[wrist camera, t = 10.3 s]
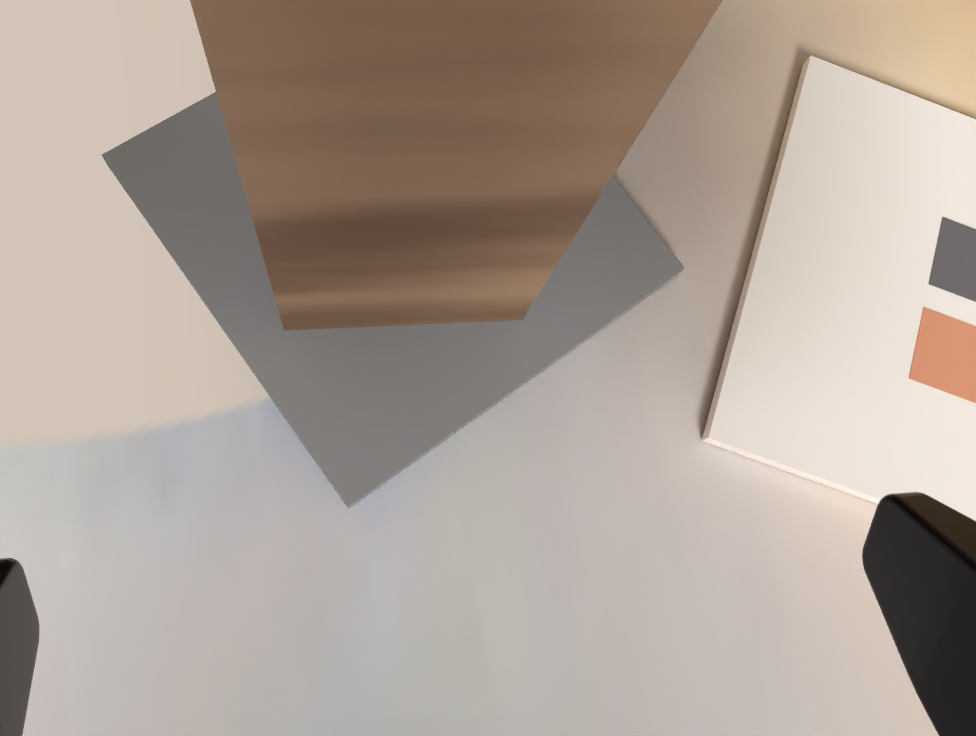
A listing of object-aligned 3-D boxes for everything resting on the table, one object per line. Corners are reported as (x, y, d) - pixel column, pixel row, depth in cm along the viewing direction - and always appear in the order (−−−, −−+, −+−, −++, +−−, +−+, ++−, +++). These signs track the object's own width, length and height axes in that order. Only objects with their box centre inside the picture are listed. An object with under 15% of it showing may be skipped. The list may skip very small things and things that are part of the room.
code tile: (1113, 588, 21) (1128, 589, 20) (701, 440, 20) (708, 437, 20) (1165, 204, 23) (1179, 197, 23) (802, 64, 23) (811, 54, 22)
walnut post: (522, 319, 20) (820, -155, 7) (284, 330, 19) (137, -182, 6) (501, 107, 21) (726, -632, 8) (275, 109, 20) (138, -704, 7)
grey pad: (348, 508, 19) (348, 506, 18) (108, 165, 20) (101, 155, 19) (677, 275, 21) (684, 268, 20) (446, -23, 22) (448, -37, 21)
